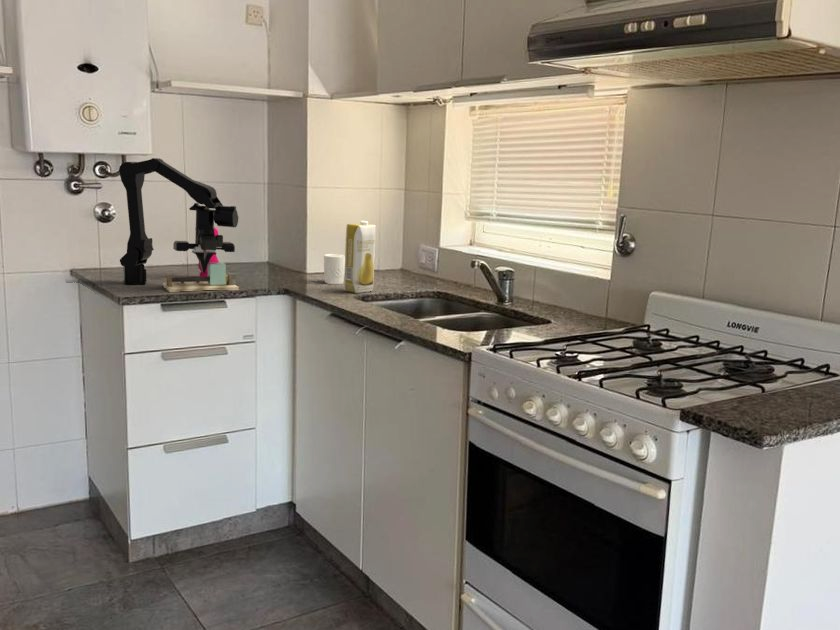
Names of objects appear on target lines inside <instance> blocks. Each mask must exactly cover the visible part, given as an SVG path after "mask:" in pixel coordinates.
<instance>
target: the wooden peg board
mask: <svg viewBox="0 0 840 630" xmlns="http://www.w3.org/2000/svg"><path fill="white" fill-rule="evenodd" d="M165 279H166V282H163V283H162V287H164V289H165V288H166V289H165V290H166V291H167V292H169V293H181V292H180V291H196V292H202V291H201V290H228V291H239V289H240V287H239V286H238V285H236V273H234V272H227V273H226V285H210V283H208V281H210V277H199V276H191V277H190V276H186V277H184V276H183V277H181V276H180V277H173V276H171V275H169V274H167V275H166V278H165Z"/></svg>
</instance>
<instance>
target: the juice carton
mask: <svg viewBox="0 0 840 630" xmlns="http://www.w3.org/2000/svg"><path fill="white" fill-rule="evenodd" d="M344 250H345V251H344V252H345V253H344V255H345V274H344V283H343V284H344V291H346V292H349V293H355V294H360V293H361V294H362V293H370V291H371V292H373V291H374V280H375V279H374V278H375V277H374V276H375V258H376V257H375V253H376V225H375V224H371V223H369V221H367V220H360V223H348V224H347V223H346V228H345V249H344Z"/></svg>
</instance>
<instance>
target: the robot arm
mask: <svg viewBox="0 0 840 630" xmlns="http://www.w3.org/2000/svg"><path fill="white" fill-rule="evenodd" d="M118 173H119V177H120V180H121V183H122V185H123V187H124V189H125V191H126V193H125V194H126V202H127V213H128V223H129V236H128V240H127V243H126V244H127V245H126V253H125V254H124V255H123V256H122V257H121V258H120V259H119V263H120V265H121V267H123V279H122V282H123V284H124V285H146V284H147V269H146V268H145V265H146V264H147V261H148V259H149V258H150V257H151V256H152V254H153V251H154V246H153V238H151V237H150V238H149V237H148V235H147V234H146V227H145V216H144V214H145V213H144V205H143V204H144V203H143V194H142V189H143V186H144V183H145V175H148V174H151V173H157V174H158V175H160V176H161V177H163V178H165V179H166V180H168V181H170V182H171V183H173V184H174V185H176V186H177V187H179V188H181V190H182V189H183V190H184V191H185V192H186V193H187V194H188V196H189V197H190V198H191V199H193V200H194V201H195V202H194V203H193V205H192V206H190V207H189V208H188V209H189V211H195V239H194V242H195V243H193V242H192V243H191V242H190V243H189V241H187V240H175V241H174V242H173V250H175V251H177V252H188V251H189V250H191V253H192V254H194V255H195V256H196V258H197V260H198V264H199V263H200V266H201V269H202V272H203V273H205V271H206V268H207V266H208V263H209V261H210V259H211V257H212V256H213V255H214V254H216V255H217V252H216V251H217V250H219V251H220V250H221V251H224V252H225V253H235V250H236V249H235V248H236V247H235V244H234V243H233V242H231V241H224V235H222V234H218V235H216V236H215V234H214V227H215V224H216V225H217V227H222V228H223V227H225V228H237V226H238V223H239V215H238V210H237V206H235V205H231V206H229V205H228V206H227V205H223V204H222V202H221V201H220V199H219V197H218V196H217V190H216V189H215V188H214V187H213V186H211V185H208V184H205V183H203V182H200V181H197V180H195V179H192V178H191V177H189V176H188V175H186V174H184V173H183V172H181V171H179V170H178V169H176V168H175V167H173V166H172V165H170V164H168V163H167V162H165V161H164V160H163V159H162V158H156V157H155V158H154V157H153V158H150V159H147V160H142V161H124V162H123V163H121V165H120V166H119V168H118ZM203 250H206V251H204V252H203Z"/></svg>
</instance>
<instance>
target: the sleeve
mask: <svg viewBox="0 0 840 630" xmlns="http://www.w3.org/2000/svg"><path fill="white" fill-rule="evenodd" d="M226 265H227V264H226V263H225V262H219V263H208V277H210V281H207V282H208V283H210V285H226V275H227V273H226V272H227V271H226V270H227V268H226V267H227V266H226Z"/></svg>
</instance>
